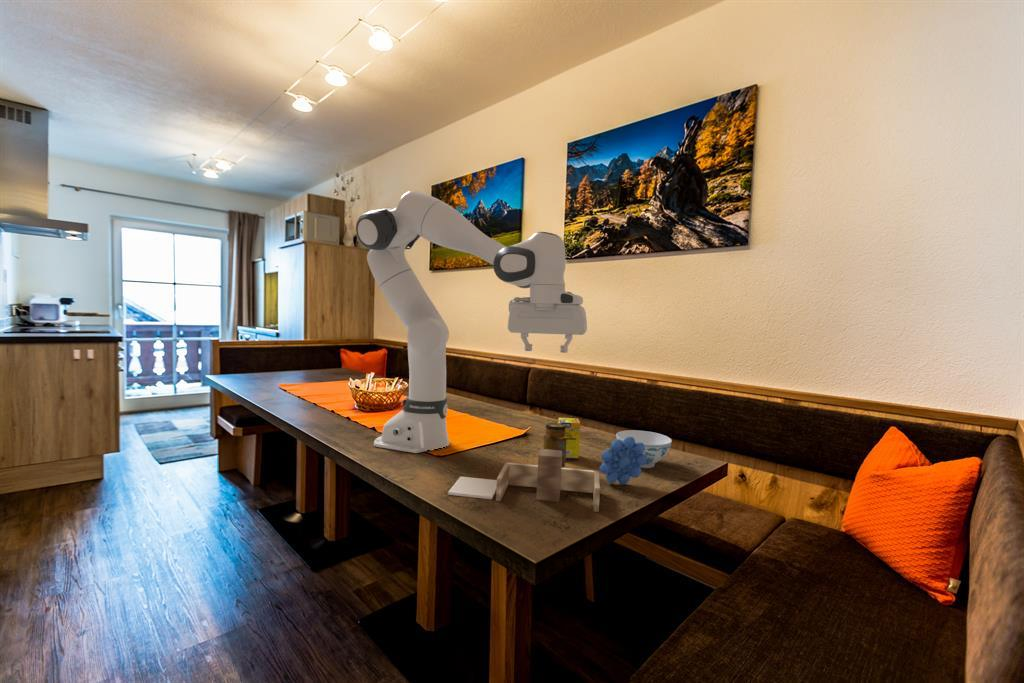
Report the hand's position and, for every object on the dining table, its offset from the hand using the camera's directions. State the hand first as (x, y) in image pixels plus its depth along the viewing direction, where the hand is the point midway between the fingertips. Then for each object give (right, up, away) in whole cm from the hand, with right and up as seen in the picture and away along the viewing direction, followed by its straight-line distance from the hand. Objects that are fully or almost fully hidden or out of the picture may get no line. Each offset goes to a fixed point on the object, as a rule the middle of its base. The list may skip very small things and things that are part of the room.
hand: (545, 351), depth 115 cm
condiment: (+3, -32, +4) cm, 32 cm away
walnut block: (0, -32, -13) cm, 35 cm away
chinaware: (+28, -32, +12) cm, 45 cm away
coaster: (-17, -32, -11) cm, 37 cm away
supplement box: (+7, -31, +16) cm, 36 cm away
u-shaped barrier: (0, -32, -13) cm, 35 cm away
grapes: (+18, -33, -3) cm, 38 cm away
